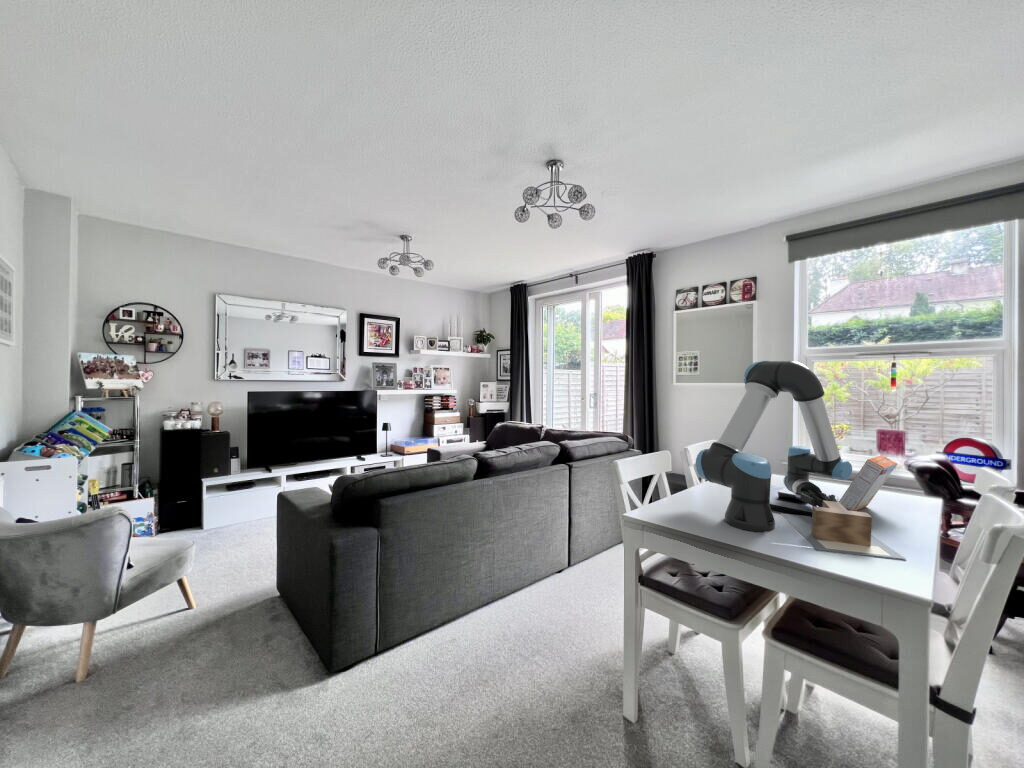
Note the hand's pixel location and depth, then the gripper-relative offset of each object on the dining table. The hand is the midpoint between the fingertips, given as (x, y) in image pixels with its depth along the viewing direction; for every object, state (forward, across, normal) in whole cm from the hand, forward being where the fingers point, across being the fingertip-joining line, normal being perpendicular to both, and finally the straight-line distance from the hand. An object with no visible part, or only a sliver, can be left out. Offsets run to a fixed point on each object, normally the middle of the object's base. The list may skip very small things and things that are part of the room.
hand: (835, 510), depth 143 cm
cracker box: (-28, -17, -5) cm, 33 cm away
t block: (+7, +2, -6) cm, 9 cm away
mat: (+5, +2, -6) cm, 8 cm away
